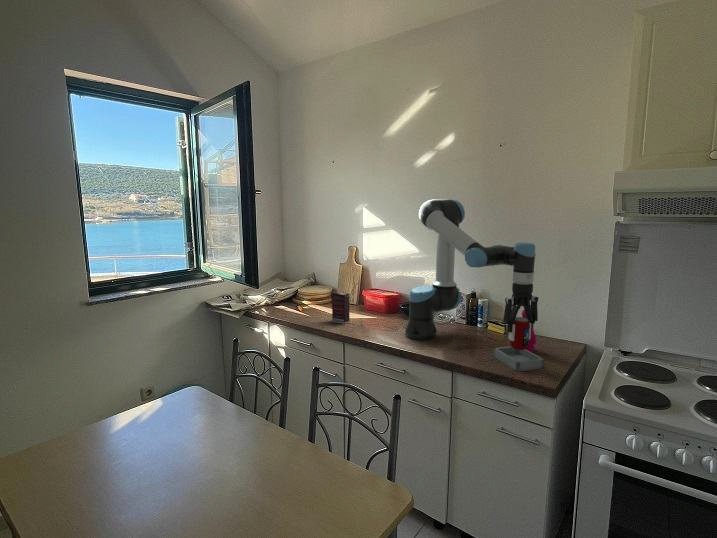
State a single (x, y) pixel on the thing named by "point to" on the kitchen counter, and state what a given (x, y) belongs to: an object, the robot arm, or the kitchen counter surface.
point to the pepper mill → (533, 337)
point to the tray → (518, 358)
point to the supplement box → (340, 307)
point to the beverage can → (521, 334)
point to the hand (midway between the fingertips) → (519, 338)
